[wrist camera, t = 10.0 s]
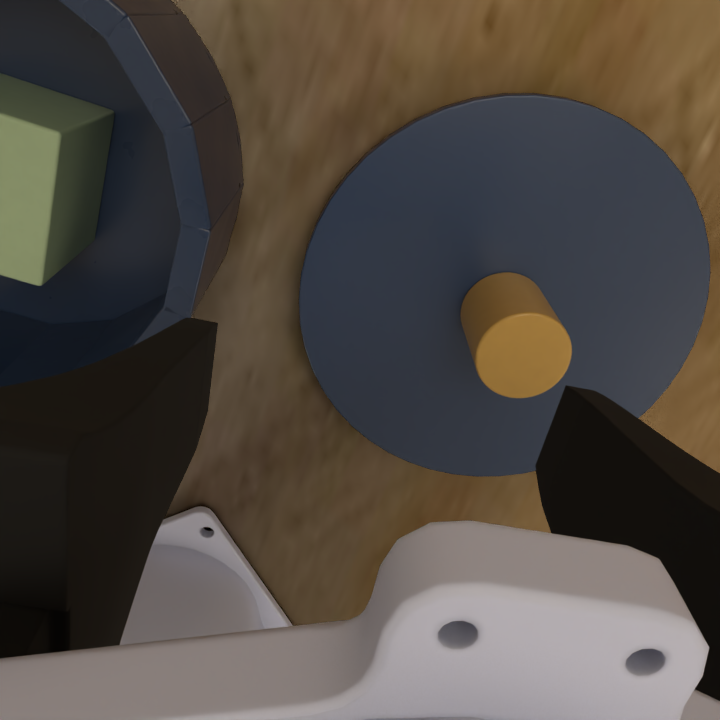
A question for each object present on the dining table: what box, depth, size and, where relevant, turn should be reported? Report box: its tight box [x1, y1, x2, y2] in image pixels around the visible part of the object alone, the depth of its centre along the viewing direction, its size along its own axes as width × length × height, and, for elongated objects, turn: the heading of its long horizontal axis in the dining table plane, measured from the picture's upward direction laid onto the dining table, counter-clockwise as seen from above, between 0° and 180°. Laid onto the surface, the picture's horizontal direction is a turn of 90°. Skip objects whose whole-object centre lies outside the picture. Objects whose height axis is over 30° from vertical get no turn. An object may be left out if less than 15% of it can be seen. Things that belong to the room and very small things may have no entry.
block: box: [0, 73, 115, 286], centre depth 18 cm, size 4×4×4 cm
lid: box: [299, 93, 710, 476], centre depth 20 cm, size 13×13×4 cm
